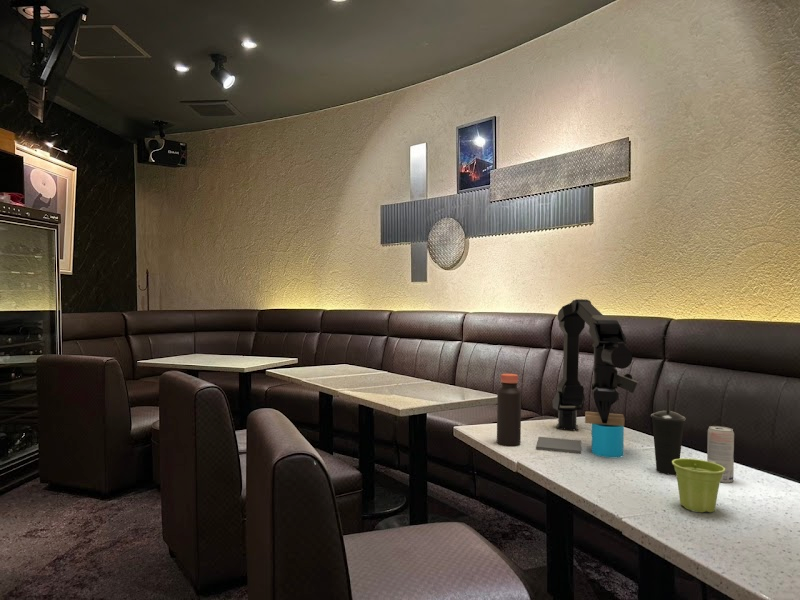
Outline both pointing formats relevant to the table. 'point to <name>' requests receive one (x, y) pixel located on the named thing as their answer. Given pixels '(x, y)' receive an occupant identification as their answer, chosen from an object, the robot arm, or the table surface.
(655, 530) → the table surface
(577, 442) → the rubber mat
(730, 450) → the energy drink
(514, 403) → the bottle
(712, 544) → the table surface
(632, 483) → the table surface
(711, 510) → the plant pot
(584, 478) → the table surface
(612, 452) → the blue cup
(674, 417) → the drinking cup
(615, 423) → the walnut lid
